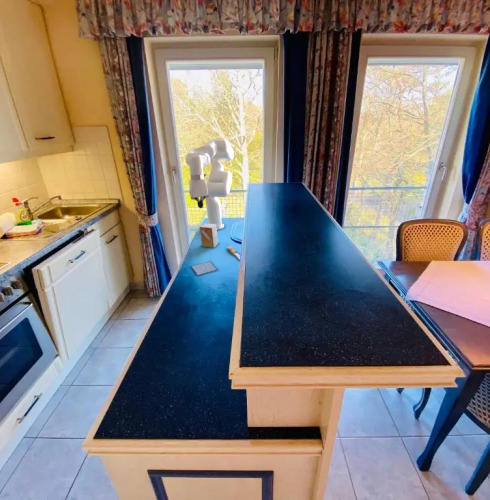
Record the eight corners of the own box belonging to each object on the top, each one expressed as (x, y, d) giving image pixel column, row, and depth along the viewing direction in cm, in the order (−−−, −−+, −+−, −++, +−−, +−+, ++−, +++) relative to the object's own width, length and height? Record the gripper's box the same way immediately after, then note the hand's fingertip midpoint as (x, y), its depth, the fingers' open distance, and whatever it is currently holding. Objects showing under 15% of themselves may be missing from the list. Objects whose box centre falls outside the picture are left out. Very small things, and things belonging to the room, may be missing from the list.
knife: (227, 249, 166) (227, 246, 165) (230, 248, 167) (230, 245, 166) (239, 260, 152) (239, 258, 152) (243, 259, 153) (243, 257, 153)
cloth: (191, 267, 148) (191, 266, 148) (209, 262, 152) (209, 261, 152) (197, 275, 140) (197, 274, 140) (216, 270, 144) (216, 269, 144)
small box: (201, 246, 170) (199, 226, 165) (206, 242, 176) (204, 223, 170) (214, 248, 168) (211, 227, 162) (218, 243, 173) (216, 224, 168)
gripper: (207, 174, 169) (210, 204, 176) (182, 177, 162) (187, 208, 170) (211, 176, 163) (214, 207, 170) (186, 179, 156) (190, 211, 164)
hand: (200, 207), depth 170 cm, fingers closed
